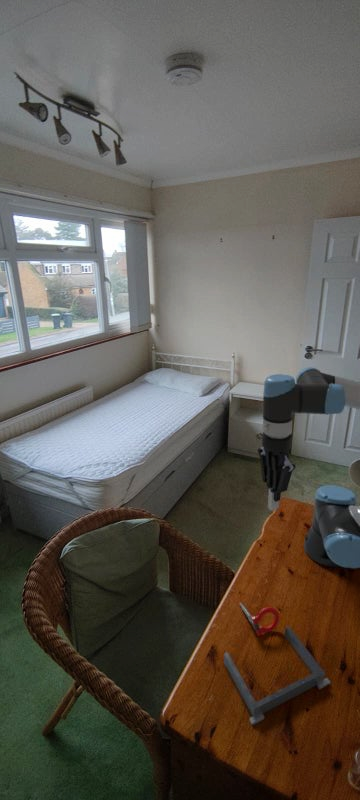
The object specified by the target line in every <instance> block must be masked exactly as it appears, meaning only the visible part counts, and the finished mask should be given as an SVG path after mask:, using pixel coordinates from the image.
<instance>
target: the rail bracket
mask: <svg viewBox="0 0 360 800" xmlns="http://www.w3.org/2000/svg"><path fill="white" fill-rule="evenodd" d="M284 628H285V629H284V637H285V638H286V639H287V641H288V643H290V645H291V646H292V647H293V649H294V651H295V652H296V653H297V654H298V656H299V657H300V659H301V660H302V661H303V663H304V664H305V665H306V667H307V668H308V670H309V671H310V672H311V674H308V675H307V676H305V677H302V678H301V679H299V680H297V681H295V682H293V683H290V684H289V685H287V686H285V687H283V688H281V689H278V690H277V691H275V692H273V693H270V695H267V696H265V697H263V698H262V699H259V700H257V701H256V700H255V698H254V696H253V695H252V693H251V691H250V689H249V688H248V686H247V684H246V683H245V681H244V679H243V677H242V675H241V674H240V672H239V670H238V667H236V664H235V662H234V661H233V659H232V657H231V655H230V653H229V652H228V651H227V652H225V653H224V654H223V663H224V666H225V668H226V669H227V672H228V673H229V675H230V677H231V679H232V681H233V684H235V686H236V689H237V691H238V692H239V694H240V696H241V697H242V699H243V701H244V704H245V705H246V707H247V709H248V711H249V713H250V714H251V717H249V719H248V720H249V722H250V724H251V726H254V725H256V724H258V723H259V722H262V721H264V720H265V715H264V714H265V713H267V712H268V711H271V710H272V709H274V708H277V707H278V706H280V705H281V704H284V703H285V702H288V701H289V700H291V699H294V698H295V697H297V696H299V695H301V694H302V693H304V692H307V691H309V690H310V689H312V688H314V687H315V686H317V688H318V690H321V689H324V688H325V687H328V686H329V685H330V684H331V680H329V678H328V677H326V678H325V674H326V673H325V671H324V670H323V668H322V667H321V665H320V664H319V663H318V662H317V661H316V659H315V658H314V657H313V655H312V654H311V653H310V652H309V650H308V649H307V647H306V646H305V645H304V644H303V642H302V641H301V640H300V639H299V637H298V636H297V635H296V633H295V631H294V630H292V628H291V627H290V626H289V625H286V626H285V627H284Z"/></svg>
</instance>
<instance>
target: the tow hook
mask: <svg viewBox="0 0 360 800" xmlns="http://www.w3.org/2000/svg"><path fill="white" fill-rule="evenodd" d="M238 605H239V606H240V607H241V609H242V611H243V612H244V614H245V616H246V617H247V618H248V621H249V622H250V623H251V625H252V627H253V629H254V630H255V633H256V635H257V637H260V636H261V635H262V633H265V634H266V633H270V632H272V631H273V630H275V629H276V628H277V626H278V625H279V622H280V613H279V612H278V610H277V609H276V608H274V607H273V606H272V607H271V606H268V607H267V606H266V607H264V608H262V609H261V610H260V611H259V612H258V613H257V615H256V616H255V615H252V614H251V613H250V612H249V611H248V610H247V607H246V606H245V605H243V603H242V602H239V604H238ZM268 613H270V614H273V616H274V617H273V618H274V619H273V622H272V623H271V624H270V625H268V626H263V625H260V626H259V623H260V622H261V621H262V619H263V617H264V616H265V615H266V614H268Z"/></svg>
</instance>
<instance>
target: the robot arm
mask: <svg viewBox="0 0 360 800" xmlns="http://www.w3.org/2000/svg"><path fill="white" fill-rule="evenodd" d="M263 383H264V385H263V393H262V397H263V403H262V433H261V434H262V435H261V446H262V447H260V448H258V449H257V453H258V456H259V461H260V462H259V463H260V469H261V478H262V482H263V483H265V484H266V487H267V496H268V497H267V499H268V500H267V501H268V502H267V509H268V510H269V511H275V510H278V509H280V500H281V497H282V496H281V495H282V493H283V492H286V491H287V490H288V487H289V484H290V480H291V477H292V474H293V471H294V470H295V469H296V464H295V463H291V461H290V460H289V459H290V455H289V450H290V449H291V446H292V433H293V417H294V416H293V415H294V414H307V415H308V414H312V415H326V416H327V415H337V414H339V415H340V414H341V413H342V412H343V411H344V409H345V407H348V408H352V409H355V410H359V411H360V381H356V380H354V379H349V378H345V377H341V376H336V375H333V374H329V373H325V372H321V371H320V369H318V368H315V367H311V366H309V367H304V368H302V369H301V370H300V371H299V372H298V373H297V375H296V380H295V378H294V377H293V376H291V375H289V374H282V373H281V374H280V373H279V374H270V375H268V376H267V377H266V378H265V380H264V382H263ZM315 493H316V494H315V496H314V498H315V499H314V507H313V512H312V513H313V516H312V522H311V526H310V528H309V530H308V532H307V533H306V535H305V537H304V541H303V549H304V552H305V553H306V555H307V556H308V557H309V558H310V559H312V561H314V562H316V563H317V564H320V565H323V566H325V567H329V568H346V569H347V568H349V569H359V568H360V505H358V506H357V505H356V504H357V496H356V494H355V493H354V492H353V491H351V490H350V489H348V488H345V487H343V486H338V485H332V484H331V485H322V486H320V487H319V488H318V489H317V490H316V492H315Z"/></svg>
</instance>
